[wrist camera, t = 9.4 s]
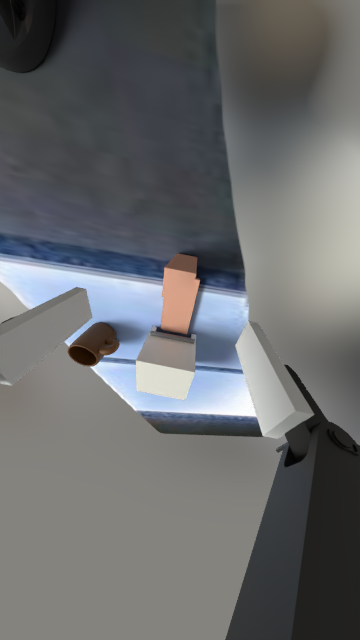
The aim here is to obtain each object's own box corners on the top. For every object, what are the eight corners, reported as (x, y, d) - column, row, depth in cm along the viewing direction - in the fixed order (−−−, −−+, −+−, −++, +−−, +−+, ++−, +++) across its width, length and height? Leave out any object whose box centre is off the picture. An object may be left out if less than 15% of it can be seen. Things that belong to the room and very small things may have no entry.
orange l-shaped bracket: (169, 251, 28) (152, 265, 18) (204, 258, 28) (208, 276, 18) (161, 327, 38) (147, 362, 28) (187, 332, 38) (182, 369, 28)
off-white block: (152, 323, 38) (135, 357, 28) (196, 332, 38) (195, 369, 28) (150, 354, 45) (136, 390, 34) (188, 361, 44) (185, 400, 34)
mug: (124, 318, 38) (104, 341, 30) (134, 339, 42) (119, 365, 34) (86, 323, 41) (59, 346, 33) (100, 343, 45) (78, 367, 37)
